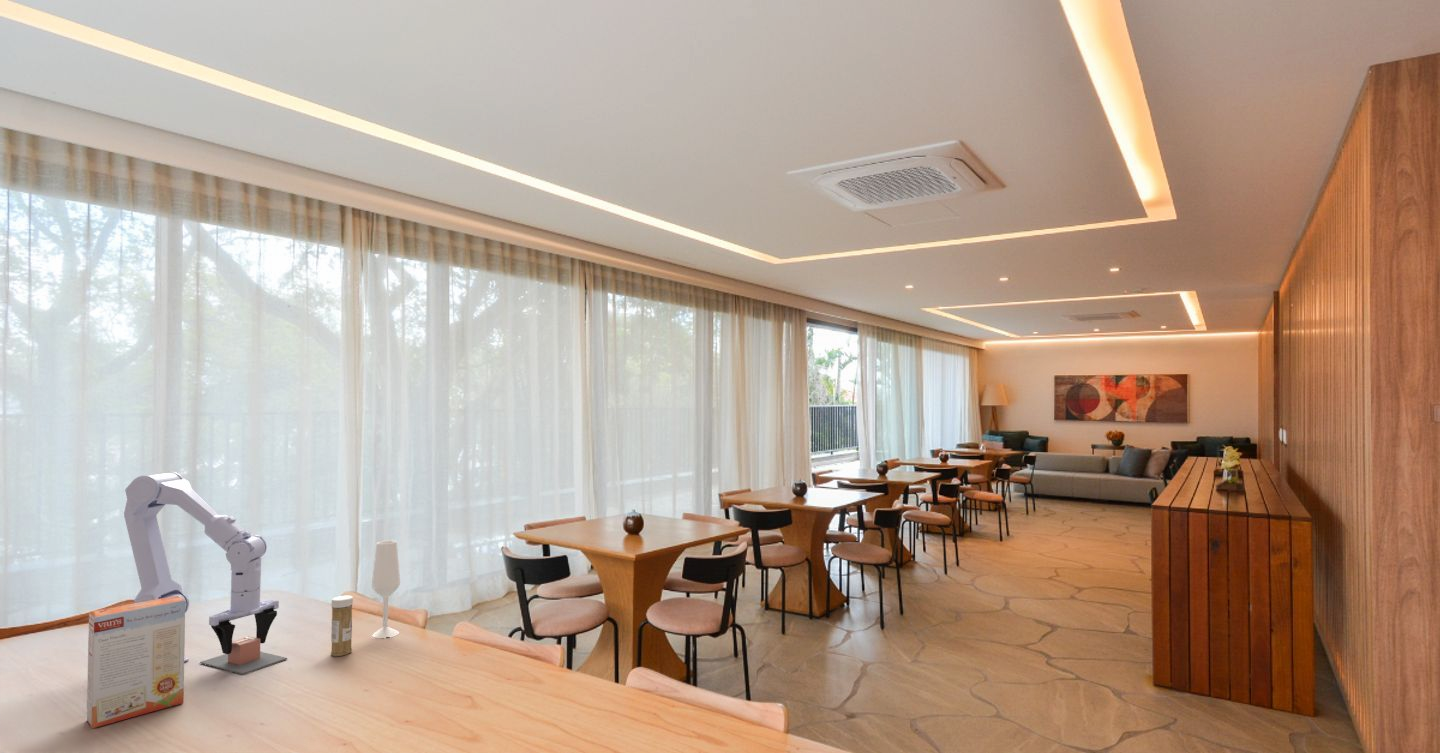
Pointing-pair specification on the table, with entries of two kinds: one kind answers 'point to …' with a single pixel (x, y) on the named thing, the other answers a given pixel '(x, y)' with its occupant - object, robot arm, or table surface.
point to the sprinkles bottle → (341, 625)
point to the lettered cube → (244, 650)
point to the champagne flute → (386, 580)
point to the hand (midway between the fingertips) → (244, 647)
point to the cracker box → (135, 659)
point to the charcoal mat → (247, 667)
